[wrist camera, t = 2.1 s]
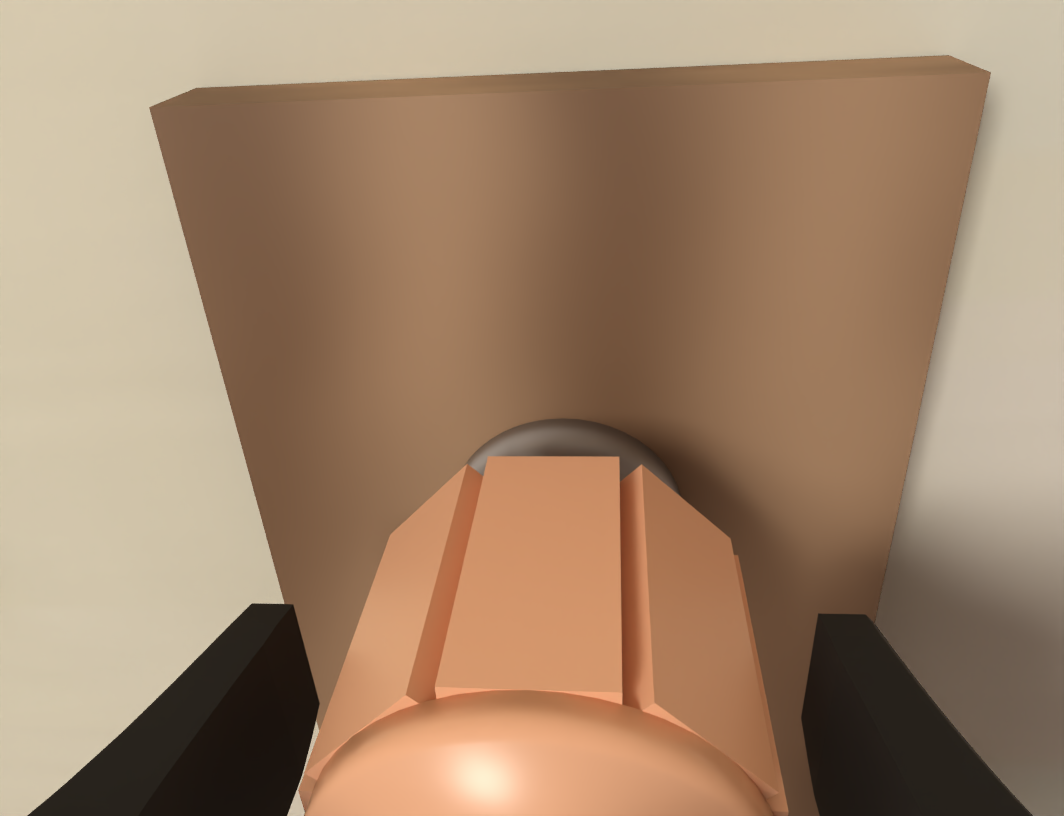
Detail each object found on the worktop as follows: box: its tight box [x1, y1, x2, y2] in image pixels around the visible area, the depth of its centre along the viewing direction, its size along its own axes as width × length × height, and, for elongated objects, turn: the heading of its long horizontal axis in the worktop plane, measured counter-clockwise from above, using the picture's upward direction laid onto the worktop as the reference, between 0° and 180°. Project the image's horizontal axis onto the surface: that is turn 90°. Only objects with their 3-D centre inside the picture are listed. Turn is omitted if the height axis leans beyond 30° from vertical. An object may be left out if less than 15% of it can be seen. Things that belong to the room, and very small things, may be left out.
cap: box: [298, 456, 789, 816], centre depth 11 cm, size 5×5×5 cm
